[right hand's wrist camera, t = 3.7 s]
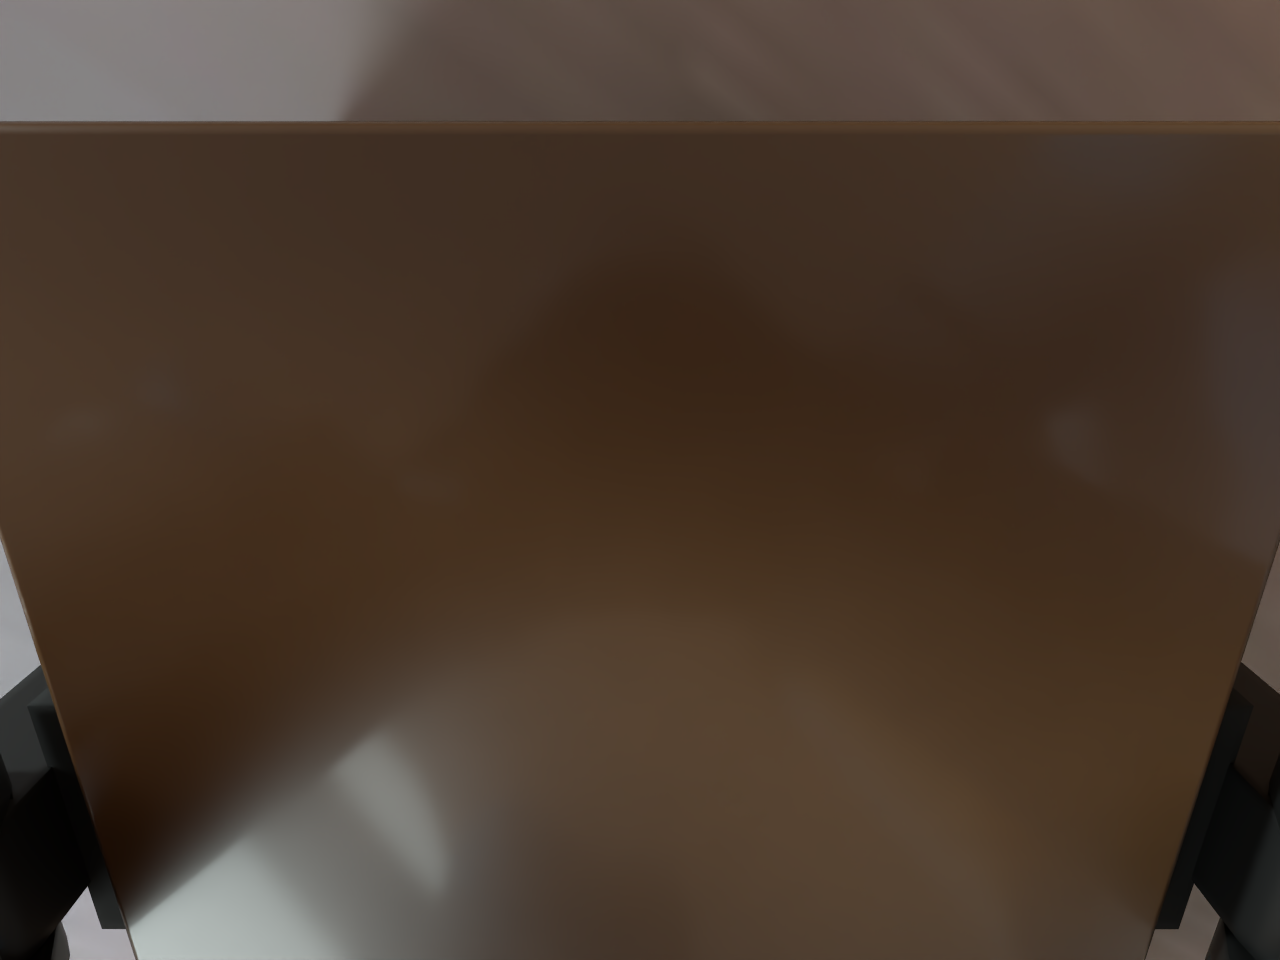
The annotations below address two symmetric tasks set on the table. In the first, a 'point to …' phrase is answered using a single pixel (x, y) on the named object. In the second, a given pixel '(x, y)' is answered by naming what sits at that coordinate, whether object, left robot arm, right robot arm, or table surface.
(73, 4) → the table surface
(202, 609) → the brown wooden beam
